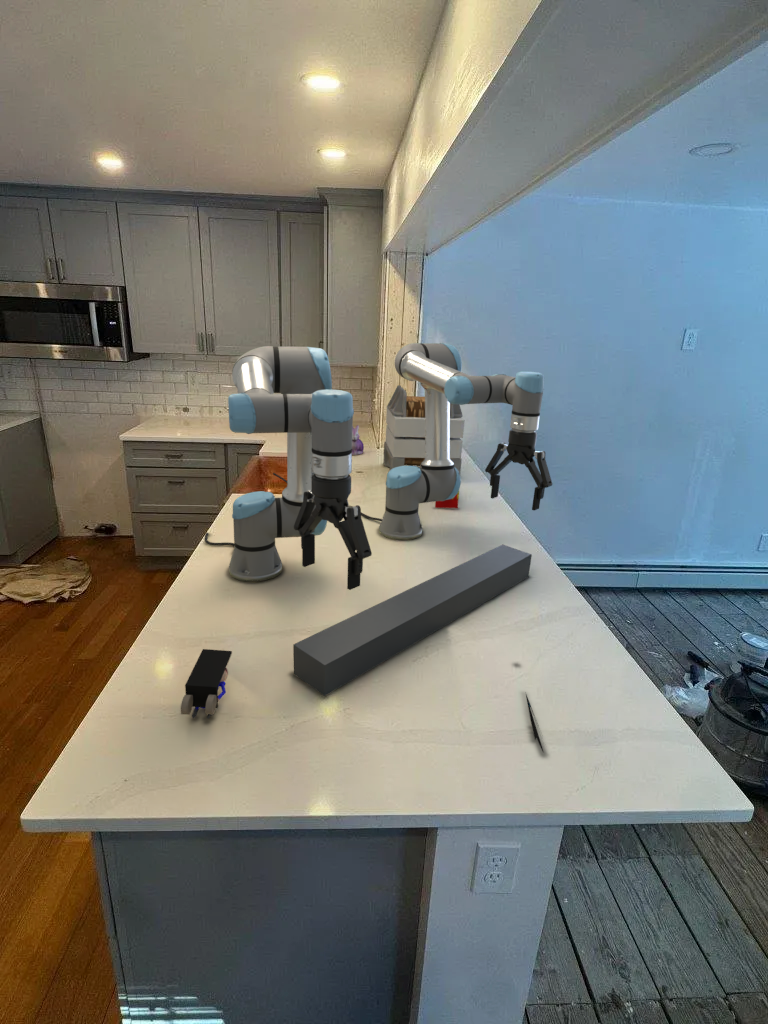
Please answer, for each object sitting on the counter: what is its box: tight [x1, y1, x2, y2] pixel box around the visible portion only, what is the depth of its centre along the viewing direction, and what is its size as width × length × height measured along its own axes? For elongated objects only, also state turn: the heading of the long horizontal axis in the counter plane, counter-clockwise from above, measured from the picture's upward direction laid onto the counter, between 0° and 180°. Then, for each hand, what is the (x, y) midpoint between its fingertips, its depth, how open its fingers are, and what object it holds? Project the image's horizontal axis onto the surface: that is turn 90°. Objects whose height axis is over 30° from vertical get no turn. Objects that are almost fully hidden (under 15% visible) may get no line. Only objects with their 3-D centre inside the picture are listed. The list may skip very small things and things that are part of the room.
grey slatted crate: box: [383, 384, 465, 476], centre depth 268 cm, size 34×33×41 cm
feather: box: [525, 691, 547, 753], centre depth 115 cm, size 2×28×2 cm
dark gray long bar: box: [292, 543, 533, 697], centre depth 145 cm, size 82×10×8 cm, turn 137°
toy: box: [434, 490, 460, 509], centre depth 239 cm, size 12×13×30 cm
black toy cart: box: [180, 648, 233, 720], centre depth 111 cm, size 7×8×15 cm
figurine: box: [352, 424, 365, 456], centre depth 304 cm, size 9×10×15 cm
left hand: (330, 575), depth 114 cm, fingers open, 13 cm apart
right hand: (514, 503), depth 163 cm, fingers open, 13 cm apart
